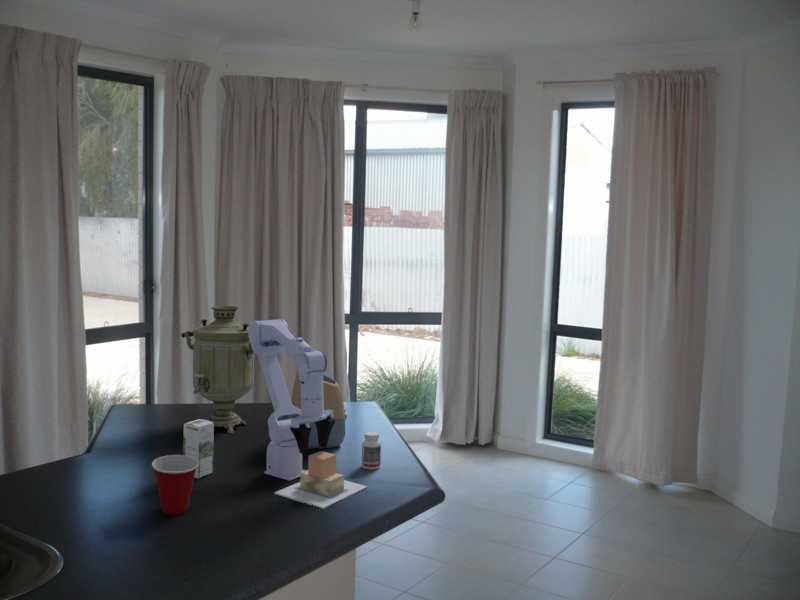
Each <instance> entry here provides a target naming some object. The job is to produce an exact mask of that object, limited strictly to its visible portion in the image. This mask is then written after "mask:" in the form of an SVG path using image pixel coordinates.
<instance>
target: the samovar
mask: <svg viewBox="0 0 800 600" xmlns="http://www.w3.org/2000/svg"><path fill="white" fill-rule="evenodd" d="M210 308H211V310H212V311H213V317H214V319H215V321H212V322H210V323H208V325H207V322H208V319H204V318H203V319H202V320H200V322H201V324H202V326H198V327H196V328H193V329H192V331H189V330H187V331H186V332H182V333H181V335H180V336H181V338H185V339H186V345H187V346H188V348H189V349H190V350H192V353H193V354H192V360H193V362H192V363H193V364H192V384H193V388H194V389H193V392H192V394H194V395H196V394H199V395H200V396H201V397H202V398H204V399H206V400H208V401H210V402H212V408H213V409H215V410H216V412H214V413H212V414H211V416H209V417H208V418H207V419H206V420H207V421H210V422H213V423H214V428H215V427H218V428H221V427H224V428H225V429H226V430H227V434H234V433H235V430H234V427H235V425H239V424H244V425H245V426H246V425H247V422H246V421H245V420H242V418H241V416H240V415H238V414H237V413H236V412H235V411H234V412H233V411H232V409H234V408H235V407H236V401H237V400H239V399H241V398H243V397H245V395H246V394H248V393H249V392H250V391H251V390H252V388H253V386H254V382H255V380H254V375H255V374H254V371H255V369H254V368H255V367H254V365H255V363H254V362H255V353H254V352H253V349H252V346H251V343H250V340H249V336H248V333H249V326H250V324H248V323H242V325H241V324H239V323H238V322H237V321H234V319H235V317H236V311H237V310H238V309H239V307H238V306H235V305H214V306H210ZM191 337H194V339H195V340H194V342H193V344H192V338H191ZM233 432H234V433H233Z"/></svg>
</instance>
